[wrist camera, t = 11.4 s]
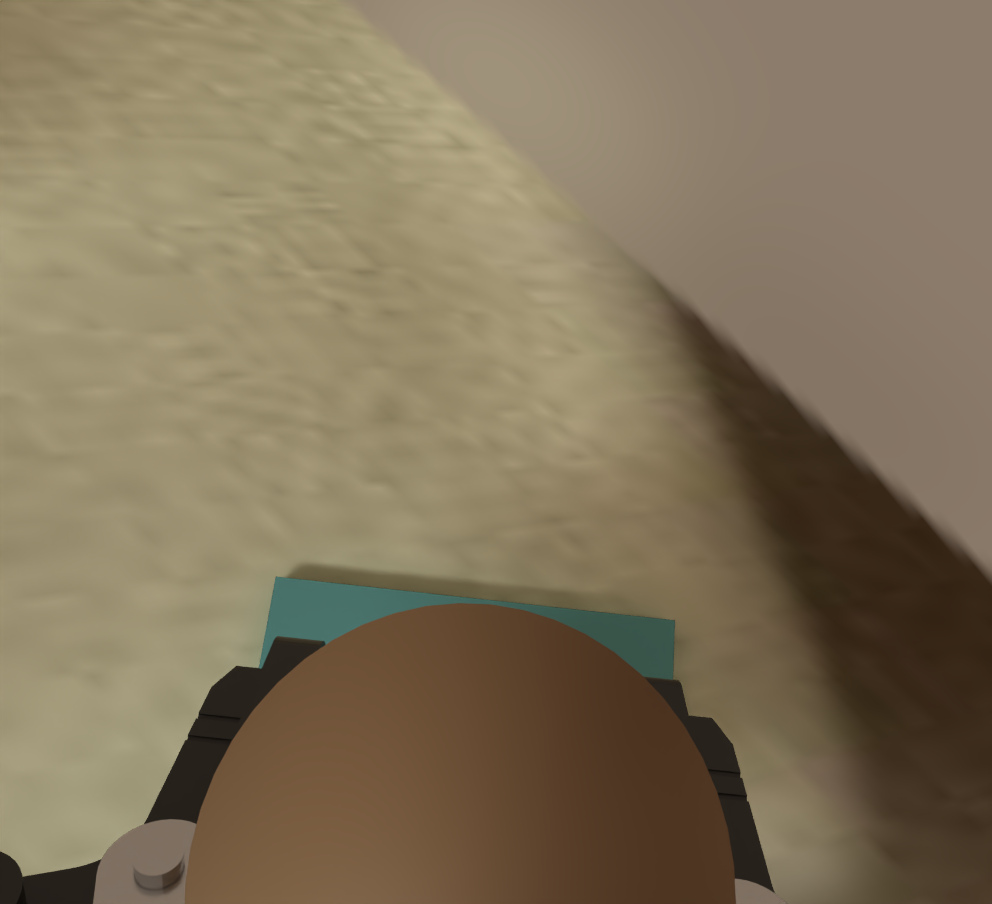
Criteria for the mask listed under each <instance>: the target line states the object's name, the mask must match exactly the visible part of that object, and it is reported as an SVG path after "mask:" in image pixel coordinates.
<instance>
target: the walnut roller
mask: <svg viewBox="0 0 992 904" xmlns="http://www.w3.org/2000/svg"><path fill="white" fill-rule="evenodd" d="M185 904H736V894H735V874H734V863H733V857H732V851H731V845H730V839H729V833H728V828H727V824H726V821H725V817H724V814H723V810H722V807H721V804H720V800H719V797H718V793H717V791H716V788H715V786H714V783H713V781H712V779H711V776H710V774H709V772H708V769H707V767H706V765H705V762H704V760H703V758H702V756H701V754H700V752H699V751H698V749H697V747H696V745H695V744H694V742H693V740H692V738H691V737H690V735H689V733H688V731H687V730H686V728H685V726H684V725H683V724H682V722H681V721H680V719H679V718H678V717H677V715H676V714H675V713H674V711H673V710H672V709H671V707H670V706H669V705H668V703H667V702H666V701H665V699H664V698H663V697H662V696H661V695H660V694H659V693H658V692H657V691H656V690H655V689H654V687H653V686H652V685H651V684H650V683H649V682H648V681H647V680H646V679H645V678H644V677H643V676H642V675H641V674H640V673H639V672H638V671H637V670H635V669H634V668H633V667H632V666H631V665H629V664H628V663H627V662H626V661H624V660H623V659H622V658H621V657H620V656H618V655H617V654H616V653H615V652H613V651H612V650H610V649H609V648H607V647H605V646H604V645H602V644H601V643H599V642H598V641H596V640H594V639H593V638H591V637H590V636H588V635H586V634H585V633H582V632H580V631H578V630H576V629H574V628H572V627H570V626H567V625H565V624H563V623H561V622H559V621H557V620H554V619H551V618H548V617H544V616H541V615H538V614H535V613H532V612H528V611H525V610H521V609H515V608H509V607H504V606H498V605H492V604H469V603H455V604H443V605H432V606H424V607H420V608H415V609H411V610H406V611H402V612H397V613H393V614H391V615H388V616H385V617H382V618H379V619H377V620H374V621H371V622H368V623H366V624H363V625H361V626H359V627H357V628H355V629H353V630H351V631H349V632H347V633H345V634H343V635H341V636H339V637H338V638H336V639H334V640H332V641H331V642H329V643H328V644H326V645H325V646H323V647H322V648H320V649H319V650H317V651H316V652H314V653H313V654H311V655H310V656H308V657H307V658H306V659H304V660H303V661H302V662H301V663H300V664H298V665H297V666H296V667H295V668H294V669H293V670H292V671H290V672H289V673H288V674H287V675H286V676H285V677H284V678H282V679H281V680H280V681H279V682H278V683H277V684H276V685H275V686H274V687H273V689H272V690H271V691H270V692H269V693H268V694H267V695H266V696H265V697H264V699H263V700H262V701H261V702H260V703H259V704H258V705H257V706H256V708H255V709H254V710H253V711H252V713H251V714H250V716H249V717H248V718H247V720H246V721H245V723H244V724H243V726H242V727H241V728H240V730H239V731H238V733H237V734H236V736H235V737H234V739H233V740H232V742H231V744H230V746H229V747H228V749H227V751H226V753H225V755H224V757H223V759H222V760H221V762H220V764H219V766H218V768H217V770H216V772H215V774H214V776H213V779H212V781H211V784H210V786H209V789H208V791H207V794H206V797H205V799H204V802H203V804H202V807H201V809H200V813H199V817H198V821H197V825H196V828H195V832H194V836H193V840H192V844H191V848H190V854H189V862H188V869H187V876H186V883H185Z"/></svg>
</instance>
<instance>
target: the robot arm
mask: <svg viewBox="0 0 992 904" xmlns="http://www.w3.org/2000/svg"><path fill="white" fill-rule="evenodd" d="M325 645H326V644H325V642H324V641H319V640H310V639H301V638H291V637H282V636H277V637H276V638H275V639H274V641H273V643H272V645H271V648H270V650H269V653H268V655H267V657H266V660H265V662H264V664H263V667H262V669H260V668H251V667H241V666H236V667H235V668H233V669H232V670H231V671H230V672H229V673H228V674H226V675H225V676H224V677H223V678H222V679H220V680H219V681H218V682H217V683H216V684H215V685H213V686H212V687H211V689H210V691H209V693H208V695H207V697H206V699H205V701H204V703H203V705H202V707H201V710H200V712H199V715H198V719H196V720H195V722H194V724H193V726H192V728H191V730H190V732H189V734H188V739H187V740H185V742H184V744H183V746H182V748H181V750H180V752H179V755H178V757H177V759H176V761H175V763H174V765H173V767H172V769H171V771H170V773H169V775H168V777H167V779H166V781H165V783H164V785H163V787H162V789H161V791H160V793H159V795H158V797H157V799H156V802H155V804H154V806H153V808H152V810H151V812H150V814H149V816H148V818H147V820H146V821H145V823H144V825H141V826H139V827H137V828H135V829H133V830H131V831H129V832H128V833H126V834H124V835H123V836H122V837H120V838H119V839H118V840H117V841H116V842H114V843H113V845H112V846H111V847H110V848H109V849H108V850H107V852H106V853H105V855H104V856H103V858H102V859H100V860H98V861H96V862H93V863H90V864H87V865H84V866H80V867H76V868H71V869H65V870H60V871H54V872H48V873H42V874H37V875H31V876H25V877H22V873H21V870H20V867H19V866H18V864H17V863H16V862H15V860H13V859H12V858H11V857H10V856H8V855H6V854H4V853H2V852H0V904H185V883H186V876H187V869H188V862H189V854H190V848H191V844H192V840H193V836H194V832H195V828H196V825H197V821H198V817H199V813H200V809H201V807H202V804H203V802H204V799H205V797H206V794H207V791H208V789H209V786H210V784H211V781H212V779H213V776H214V774H215V772H216V770H217V768H218V766H219V764H220V762H221V760H222V759H223V757H224V755H225V753H226V751H227V749H228V747H229V746H230V744H231V742H232V740H233V739H234V737H235V736H236V734H237V733H238V731H239V730H240V728H241V727H242V726H243V724H244V723H245V721H246V720H247V718H248V717H249V716H250V714H251V713H252V711H253V710H254V709H255V708H256V706H257V705H258V704H259V703H260V702H261V701H262V700H263V699H264V697H265V696H266V695H267V694H268V693H269V692H270V691H271V690H272V689H273V687H274V686H275V685H276V684H277V683H278V682H279V681H280V680H281V679H282V678H284V677H285V676H286V675H287V674H288V673H289V672H290V671H292V670H293V669H294V668H295V667H296V666H297V665H298V664H300V663H301V662H302V661H303V660H304V659H306V658H307V657H308V656H310V655H311V654H313V653H314V652H316V651H317V650H319V649H320V648H322V647H323V646H325ZM643 677H644V676H643ZM644 678H645V679H646V680H647V681H648V682H649V683H650V684H651V685H652V686H653V687H654V689H655V690H656V691H657V692H658V693H659V694H660V695H661V696H662V697H663V698H664V699H665V701H666V702H667V703H668V705H669V706H670V707H671V709H672V710H673V711H674V713H675V714H676V715H677V717H678V718H679V719H680V721H681V722H682V724H683V725H684V726H685V728H686V730H687V731H688V733H689V735H690V737H691V738H692V740H693V742H694V744H695V745H696V747H697V749H698V751H699V752H700V754H701V756H702V758H703V760H704V762H705V765H706V767H707V769H708V772H709V774H710V776H711V779H712V781H713V783H714V786H715V788H716V791H717V793H718V797H719V800H720V804H721V807H722V810H723V814H724V817H725V821H726V824H727V828H728V833H729V839H730V845H731V851H732V857H733V863H734V874H735V894H736V904H787V903H786V902H785V901H784V900H783V899H782V898H780V897H779V896H778V895H776V894H775V893H774V890H773V887H772V884H771V880H770V876H769V873H768V869H767V866H766V862H765V859H764V855H763V851H762V848H761V844H760V841H759V837H758V834H757V830H756V826H755V823H754V819H753V816H752V812H751V809H750V805H749V802H748V801H747V794H746V791H745V787H744V783H743V780H742V778H740V769H739V766H738V762H737V758H736V755H735V751H734V748H733V744H732V743H731V742H730V740H729V739H728V738H727V737H726V735H725V734H724V733H723V732H722V730H721V729H720V728H719V726H718V725H717V724H716V723H715V721H714V720H713V719H712V718H706V717H696V716H688V712H687V707H686V703H685V698H684V694H683V690H682V686H681V683H680V682H679V681H678V680H671V679H662V678H653V677H644Z"/></svg>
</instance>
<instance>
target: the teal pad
mask: <svg viewBox="0 0 992 904" xmlns="http://www.w3.org/2000/svg"><path fill="white" fill-rule="evenodd" d="M455 603H469V604H492V605H498V606H504V607H509V608H515V609H521V610H525V611H528V612H532V613H535V614H538V615H541V616H544V617H548V618H551V619H554V620H557V621H559V622H561V623H563V624H565V625H567V626H570V627H572V628H574V629H576V630H578V631H580V632H582V633H585V634H586V635H588V636H590V637H591V638H593V639H594V640H596V641H598V642H599V643H601V644H602V645H604V646H605V647H607V648H609V649H610V650H612V651H613V652H615V653H616V654H617V655H618V656H620V657H621V658H622V659H623V660H624V661H626V662H627V663H628V664H629V665H631V666H632V667H633V668H634V669H635V670H637V671H638V672H639V673H640V674H641V675H642V676H644V677H653V678H662V679H671V680H673V661H674V631H675V620H667V619H658V618H649V617H640V616H631V615H621V614H612V613H603V612H594V611H585V610H576V609H567V608H557V607H548V606H539V605H530V604H521V603H512V602H503V601H494V600H484V599H475V598H466V597H457V596H448V595H439V594H430V593H420V592H411V591H402V590H393V589H384V588H375V587H366V586H357V585H347V584H338V583H329V582H320V581H311V580H302V579H293V578H283V577H276V579H275V584H274V590H273V595H272V600H271V606H270V611H269V616H268V622H267V627H266V633H265V638H264V643H263V649H262V654H261V659H260V665H259V668H260V669H262V667H263V664H264V662H265V660H266V657H267V655H268V653H269V650H270V648H271V645H272V643H273V641H274V639H275V638H276V637H277V636H282V637H291V638H301V639H310V640H319V641H324V642H325V644H328V643H329V642H331V641H332V640H334V639H336V638H338V637H339V636H341V635H343V634H345V633H347V632H349V631H351V630H353V629H355V628H357V627H359V626H361V625H363V624H366V623H368V622H371V621H374V620H377V619H379V618H382V617H385V616H388V615H391V614H393V613H397V612H402V611H406V610H411V609H415V608H420V607H424V606H432V605H443V604H455Z"/></svg>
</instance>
